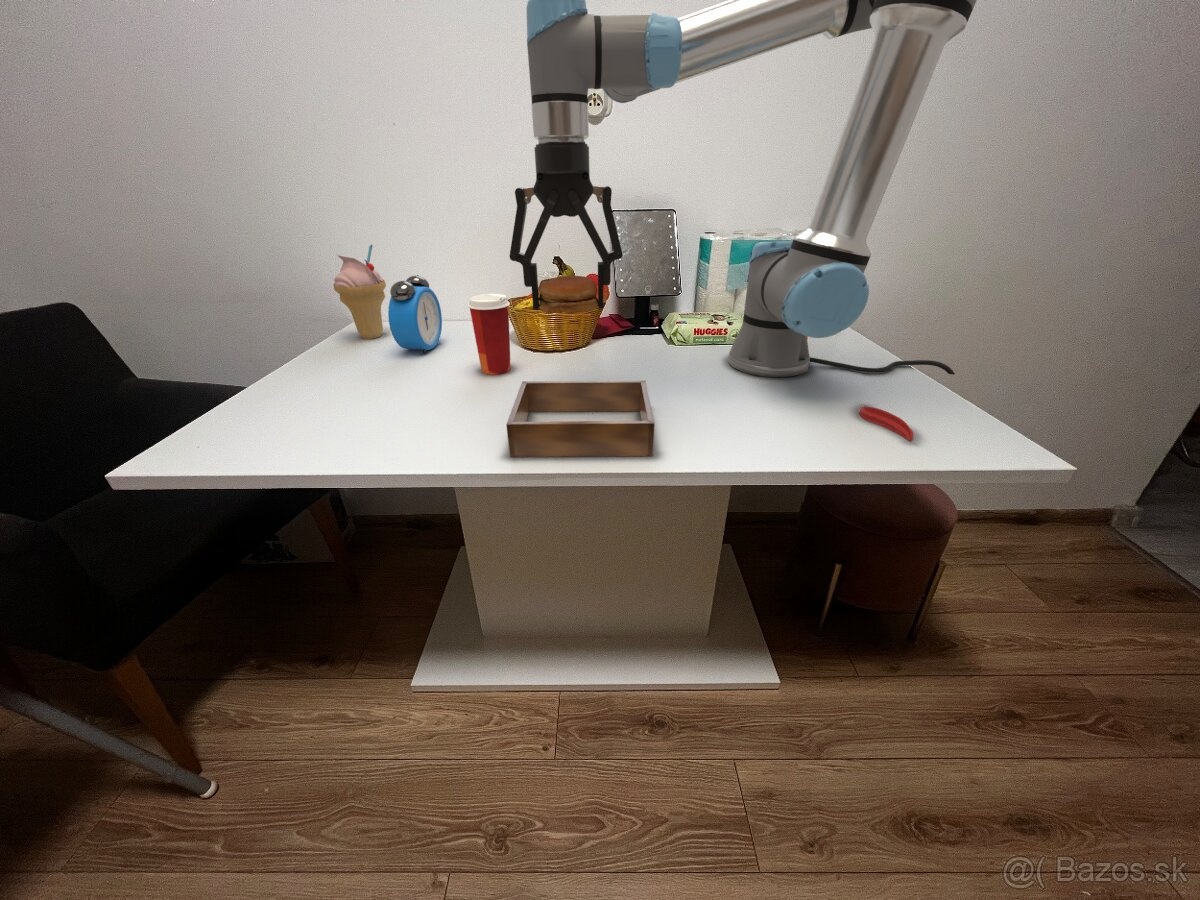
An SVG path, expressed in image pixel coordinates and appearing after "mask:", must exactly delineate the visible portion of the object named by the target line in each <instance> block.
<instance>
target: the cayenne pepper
mask: <svg viewBox="0 0 1200 900" xmlns="http://www.w3.org/2000/svg"><path fill="white" fill-rule="evenodd" d="M858 413H859V415H860V417H861V418H862V419H864V420H866V421H868V422H870V423H873V424H876V425H879V426H882V427H884V428H886V429H888V430H890V431H892V432H894V433H896V434H898V435H900V436H902V437H903V438H905V439H906V440H907V441H909V442H912V441H913V439H914V435H915V434H914V431H913V430H912V428H911V427H910V426H909V424H908V423H906V421H905V420H903V419H902V418H900V416H897V415H896V414H893V413H891V412H889V411H886V410H885V409H884V410H883V409H881V408H877V407H873V406H867V405H866V404H865V405H863V406H861V407H860V409H859V412H858Z"/></svg>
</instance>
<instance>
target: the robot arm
mask: <svg viewBox="0 0 1200 900" xmlns="http://www.w3.org/2000/svg"><path fill="white" fill-rule="evenodd" d="M977 1H978V0H726V1H723V2H720V3H718V4H715V5H712V6H709V7H705V8H703V9H701V10H698V11H695V12H692V13H690V14H686V15H684V16H681V17H676V16H674V15H660V14H657V13H653V12H652V13H651V14H627V15H626V14H624V15H621V14H620V15H619V14H617V15H594V13H593V14H592V13H588V8H587V1H586V0H528V1H527V3H526V7H525V9H526V45H527V47H526V48H527V59H528V60H527V61H528V71H529V72H528V73H529V86H530V96H531V116H532V117H531V118H532V133H533V138H534V139H535V140H537V141H538V144H535V146H534V147H533V148H534V149H533V150H534V161H535V177H536V178H535V182H534V185H533V186H529V187H520V186H519V187H517V188H516V189H515V190H514V197H515V202H516V210H515V217H514V224H513V230H512V237H511V243H510V250H509V260H511V261H512V262H517V263H518V264H521V266H522V274H523V284H524V286H525V288H531V299H532V309H533V311H538V310H540V309H539V305H540V301H539V294H540V292H539V279H538V265H537V264H538V263H537V262H532V261H533V258H534V256H535V253H536V251H537V248H538V246H539V244H540V242H541V239H542V237H543V235H544V233H545V230H546V228H547V225H548V223H549V221H550V218H551V217H553V218H560V217H564V216H566V217H570V218H575V217H577V216H578V218H579V219H580V221H581V224H582V225H583V227H584V229H585V230H586V232H587V234H588V236H589V238H590V240H591V242H592V243H593V245H594V247H595V249H596V251H597V253H598V255H599V257H600V259H601V261H597V299H598V307H597V308H598V309H601V310H603V309H604V286H610V285H611V283H612V281H611V280H612V279H611V276H612V275H611V270H612V269H611V267H612V266H611V265H612V263H613V262H615V261H617V260H620V259H622V258H623V249H622V246H621V241H620V237H619V234H618V229H617V225H616V221H615V216H614V211H613V209H612V204H611V203H612V193H613V191H612V187H610V186H609V185H605V186H598V185H593V183H592V181H591V176H590V170H591V169H590V146H589V145H588V143H586V141H585V140H587V139H588V138H589V137H590V136H589V135H590V133H589V131H590V130H589V128H590V127H589V97H588V93H589V89H590V90H592V89H593V90H602V91H603V92H604V94H605V95H606V96H607V97H608V99H610V100H611V101H613V102H616V103H619V104H626V103H630V102H633V101H635V100H636V99H637V98H638V97H642V96H644V95H647V94H650V93H653V92H656V91H660V90H662V89H671V88H672V87H674V86H675V84H678V83H681V82H683V81H687V80H689V79H693V78H695V77H699V76H702V75H705V74H707V73H710V72H714V71H716V70H719V69H722V68H725V67H728V66H731V65H734V64H737V63H740V62H744V61H746V60H749V59H752V58H755V57H758V56H760V55H764V54H767V53H769V52H772V51H776V50H778V49H781V48H784V47H788V46H790V45H793V44H796V43H799V42H802V41H805V40H807V39H811V38H814V37H817V36H820V35H823V36H824V37H825V38H826V39H829V40H833V39H835V38H838V37H843V36H845V35H849V34H851V33H856V32H860V31H865V30H869V29H872V31H873V34H874V38H873V40H872V44H871V46H870V49H869V53H868V55H867V58H866V61H865V64H864V66H863V70H862V72H861V75H860V77H859V81H858V84H857V86H856V89H855V92H854V95H853V98H852V100H851V104H850V107H849V109H848V112H847V115H846V118H845V121H844V124H843V127H842V130H841V132H840V134H839V138H838V141H837V144H836V147H835V149H834V153H833V156H832V157H831V161H830V164H829V167H828V168H827V169H828V170H827V172H826V175H825V178H824V180H823V184H822V187H821V190H820V192H819V195H818V198H817V201H816V204H815V206H814V209H813V212H812V216H811V218H810V221H809V224H808V227H806V229H804V230H803V231H801V232H800V233H798V234H796V235H795V236H793V239H792V240H784V241H783V240H781V241H760V242H756V244H754V246H753V247H752V251H751V256H750V259H749V261H748V265H749V267H748V268H749V269H748V275H747V276H748V277H747V284H746V285H747V286H746V294H745V302H744V308H743V309H744V310H743V318H742V324H741V327H740V328H739V331H738V333H737V335H736V337H735V339H734V342H733V344H732V346H731V348H730V350H729V354H728V364H729V365H730V366H731V367H732V368H734V369H736V370H738V371H740V372H742V373H746V374H749V375H753V376H759V377H769V378H787V377H795V376H799V375H803V374H805V373H806V372H807V371H808V370H809V366H810V363H814V364H819V365H825V366H828V367H829V366H830V367H835V368H840V369H845V370H848V371H849V370H850V371H854V372H860V373H870V374H881V373H886V372H888V371H890V370H892V369H894V368H896V367H900V366H933V367H937V368H939V369H942V370H943V371H945V372H946V373H947V374H948V375H955V374H956V373H955V372H954V370H953V369H952V368H951V366H949V365H947V364H945V363H943V362H940V361H937V360H928V359H915V360H895V361H893V362H891V363H889V364H888V365H886V366H883V367H865V366H864V367H863V366H857V365H853V364H849V363H842V362H839V361H838V362H837V361H833V360H832V361H831V360H827V359H822V358H816V357H810V356H811V355H810V350H809V343H808V342H809V341H808V338H812V339H824V338H829V337H833V336H835V335H837V334H839V333H841V332H842V331H845V330H847V329H848V328H850V327H851V326H852V325H853V324H854V323H855V322H856V321H857V320H858V319H859V318H860V316H861V315H862V313H863V312H864V310H865V308H866V306H867V303H868V300H869V297H870V296H869V295H870V287H869V284H868V280H867V277H866V275H865V270H866V269H867V267H868V264H869V261H870V259H871V256H872V252H871V250H870V248H869V246H868V244H867V239H868V236H869V232H870V231H871V228H872V225H873V223H874V220H875V219H876V215H877V214H878V211H879V209H880V206H881V203H882V201H883V198H884V196H885V194H886V192H887V188H888V186H889V184H890V181H891V179H892V177H893V173H894V171H895V169H896V166H897V163H898V162H899V159H900V156H901V154H902V151H903V149H904V146H905V144H906V141H907V140H908V136H909V134H910V132H911V129H912V126H913V124H914V121H915V119H916V117H917V115H918V112H919V109H920V107H921V104H922V102H923V99H924V97H925V95H926V92H927V89H928V87H929V84H930V82H931V79H932V77H933V74H934V72H935V69H936V68H937V65H938V63H939V60H940V57H941V55H942V52H943V50H944V48H945V46H946V44H947V43H948V42H949V41H951V40H952V39H953V38H955V37H956V36H958V35H959V34H961V33H962V32H963V31H964V30H965V29H966V27H967V24H968V22H969V20H970V17H971V15H972V12H973V10H974V7H975V6H976V3H977ZM593 195H595V197H596V200H597V202H598V203H600V204H601V205H602V211H603V216H604V220H605V223H606V224H605V225H606V228H607V231H608V235H609V239H610V244H611V247H612V250H611V251H609V252H608V249H607V248H606V245H605V244H604V242H603V241H602V238H601V236H600V235H599V232H598V230H597V228H596V226H595V224H594V222H593V221H592V219H591V217H590V215H589V213H588V211H587V209H586V205H587V203H588V202H589V200H590V198H591V197H592V196H593ZM533 196H535V197H536V199H537V200H538V202H539V203H540V204H541V205H542V207H543V209H542V212H541V214H540V216H539V219H538V220H537V221H538V222H537V224H536V226H535V229H534V231H533V233H532V235H531V237H530V240H529V242H528V245H527V248H526V250H525V252H524V253H523V252H521V247H522V242H523V235H524V229H525V223H526V217H527V209H528V205H529V204H530V203H531V202H532V198H533Z"/></svg>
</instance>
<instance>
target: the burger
mask: <svg viewBox="0 0 1200 900" xmlns="http://www.w3.org/2000/svg"><path fill="white" fill-rule="evenodd" d="M538 292H539V309H538V310H539V311H541V312H542V313H545V314H560V315H561V314H578V313H579V314H581V313H589V312H592V311H595V310H596V309H598V308H599V307H598V286H597V283H596V282H595V281H594V280H593V279H591V278H590V277H586V276H582V275H573V274H571V275H570V274H569V275H561V276H556V277H555V276H554V277H551V278H546V279H542V280H541V281H540V282H539V284H538Z"/></svg>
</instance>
